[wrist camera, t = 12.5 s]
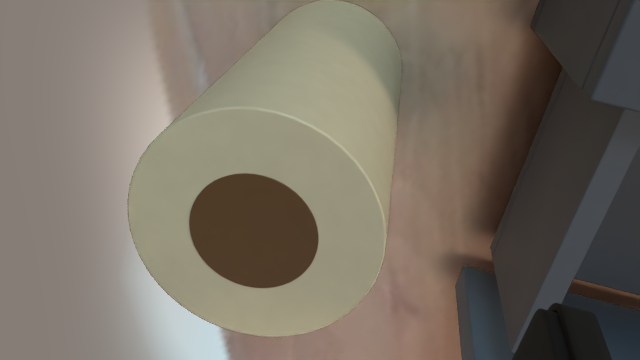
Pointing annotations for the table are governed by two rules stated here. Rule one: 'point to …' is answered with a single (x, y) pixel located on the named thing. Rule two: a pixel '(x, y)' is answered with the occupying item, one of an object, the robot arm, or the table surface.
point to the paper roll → (277, 178)
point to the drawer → (563, 231)
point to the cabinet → (595, 46)
